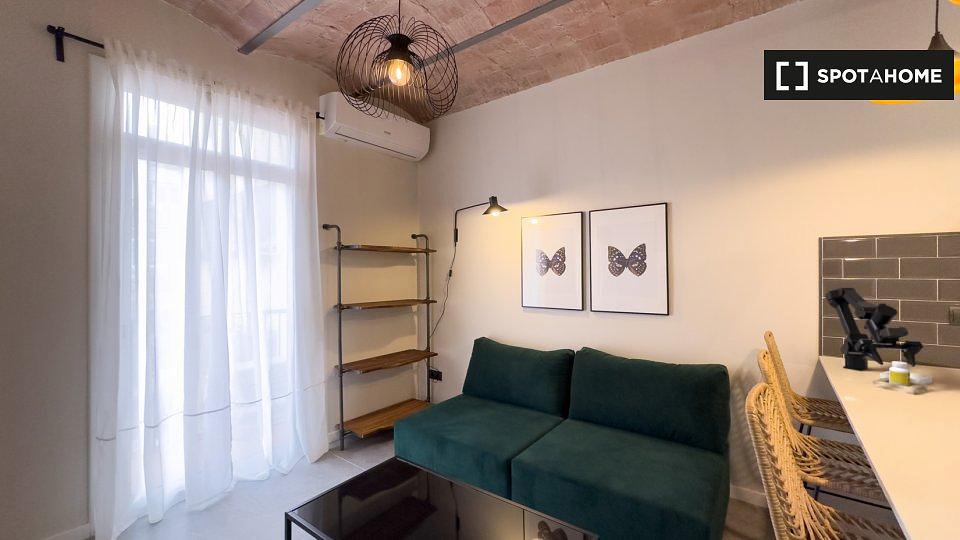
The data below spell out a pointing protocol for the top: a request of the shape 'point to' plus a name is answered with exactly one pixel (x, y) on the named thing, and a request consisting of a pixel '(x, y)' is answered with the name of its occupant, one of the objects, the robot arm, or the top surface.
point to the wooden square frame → (900, 386)
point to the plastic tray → (912, 378)
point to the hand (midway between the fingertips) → (898, 365)
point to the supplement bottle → (899, 374)
